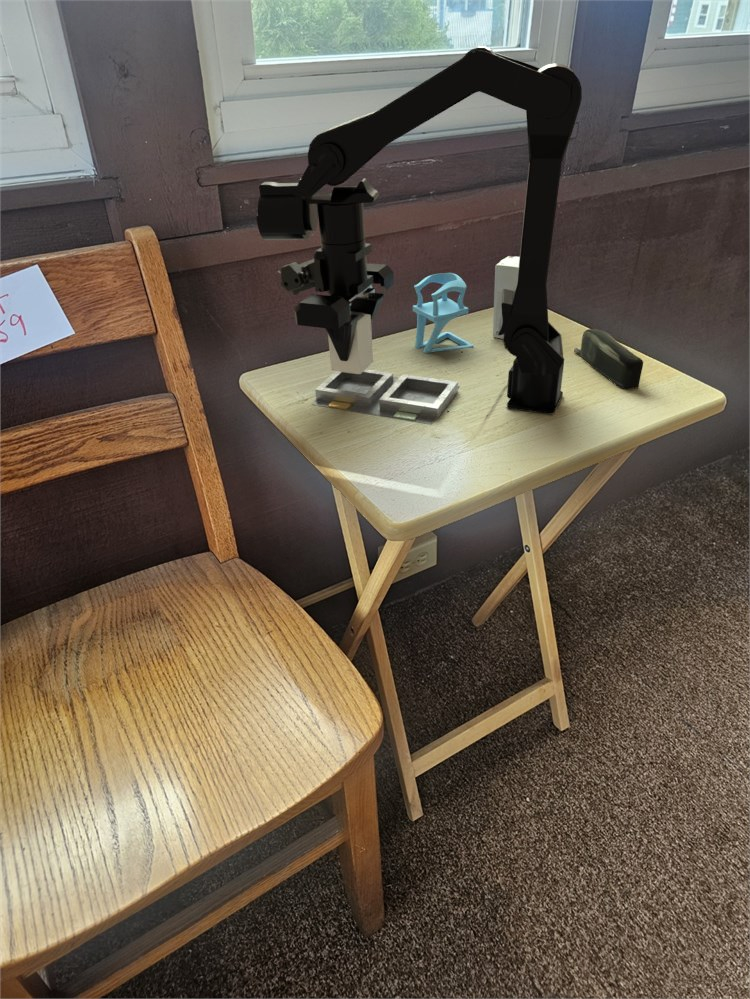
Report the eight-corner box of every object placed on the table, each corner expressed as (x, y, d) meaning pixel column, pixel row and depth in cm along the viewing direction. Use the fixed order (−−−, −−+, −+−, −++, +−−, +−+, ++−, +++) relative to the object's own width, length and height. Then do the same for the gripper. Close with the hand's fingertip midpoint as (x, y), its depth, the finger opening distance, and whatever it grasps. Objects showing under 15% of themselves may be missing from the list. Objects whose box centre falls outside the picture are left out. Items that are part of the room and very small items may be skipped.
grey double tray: (461, 391, 98) (461, 376, 96) (433, 429, 89) (433, 414, 88) (347, 375, 104) (346, 361, 103) (311, 409, 96) (309, 394, 94)
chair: (406, 347, 112) (404, 275, 105) (448, 336, 115) (448, 265, 108) (431, 363, 107) (430, 288, 100) (474, 350, 110) (476, 277, 103)
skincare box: (516, 341, 112) (521, 267, 105) (490, 337, 114) (494, 265, 107) (527, 328, 116) (533, 257, 109) (503, 325, 118) (507, 254, 111)
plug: (373, 361, 97) (370, 311, 92) (360, 374, 93) (356, 323, 89) (342, 357, 98) (338, 308, 94) (328, 369, 95) (323, 319, 91)
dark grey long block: (648, 358, 93) (590, 320, 104) (629, 361, 92) (573, 322, 104) (641, 390, 96) (586, 349, 107) (623, 394, 95) (569, 352, 107)
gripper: (321, 219, 95) (331, 325, 104) (250, 255, 82) (268, 373, 91) (393, 222, 91) (397, 332, 100) (331, 261, 78) (341, 384, 87)
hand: (351, 353), depth 95 cm, fingers closed on plug, 4 cm apart
